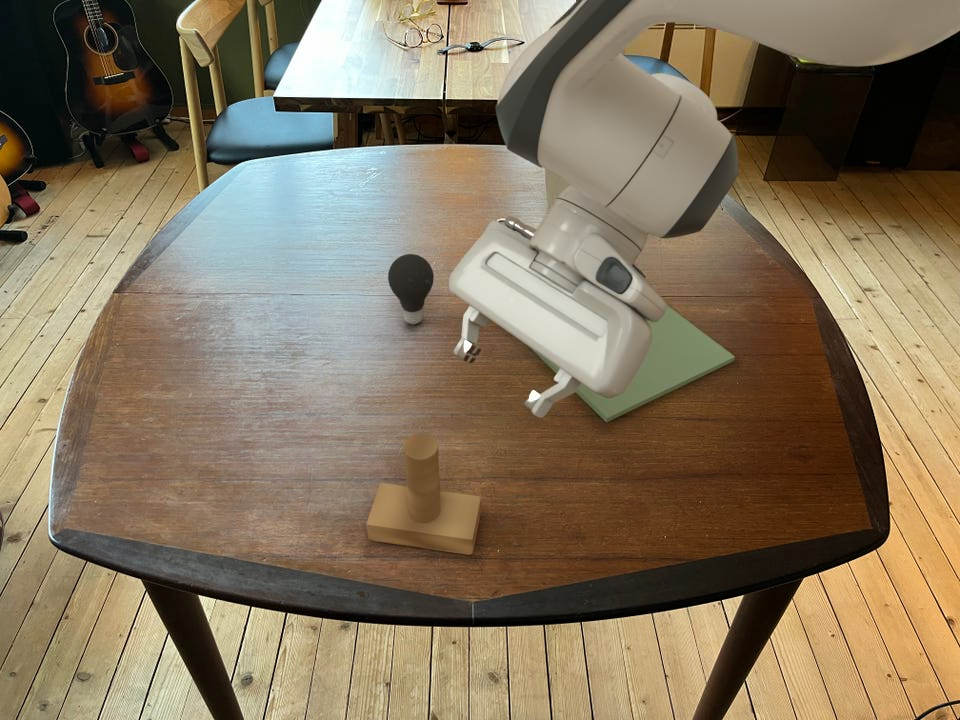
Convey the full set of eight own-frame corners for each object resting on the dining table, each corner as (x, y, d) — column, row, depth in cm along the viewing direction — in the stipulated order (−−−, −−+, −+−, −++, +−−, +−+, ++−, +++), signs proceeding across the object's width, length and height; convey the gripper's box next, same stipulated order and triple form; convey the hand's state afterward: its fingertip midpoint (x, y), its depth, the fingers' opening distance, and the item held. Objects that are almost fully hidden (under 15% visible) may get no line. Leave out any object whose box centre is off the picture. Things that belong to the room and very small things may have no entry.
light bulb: (387, 333, 93) (381, 268, 87) (397, 307, 97) (392, 242, 91) (430, 338, 93) (427, 273, 86) (439, 311, 97) (437, 247, 90)
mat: (733, 361, 90) (735, 356, 89) (606, 422, 82) (607, 417, 81) (609, 266, 105) (609, 261, 105) (491, 310, 97) (491, 305, 97)
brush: (481, 515, 72) (482, 431, 64) (472, 558, 69) (472, 475, 61) (382, 501, 74) (372, 418, 66) (368, 543, 70) (356, 460, 62)
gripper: (483, 195, 68) (405, 321, 70) (659, 294, 57) (561, 442, 58) (515, 221, 73) (442, 337, 75) (683, 317, 62) (593, 452, 63)
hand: (495, 384), depth 66 cm, fingers open, 8 cm apart
